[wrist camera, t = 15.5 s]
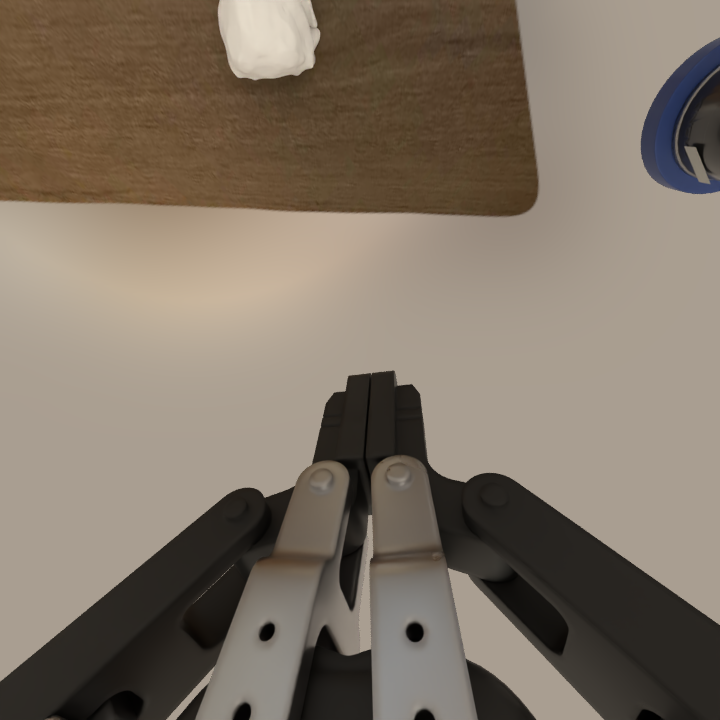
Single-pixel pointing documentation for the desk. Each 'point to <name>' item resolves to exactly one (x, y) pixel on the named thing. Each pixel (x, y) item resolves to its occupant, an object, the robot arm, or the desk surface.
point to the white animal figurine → (268, 36)
